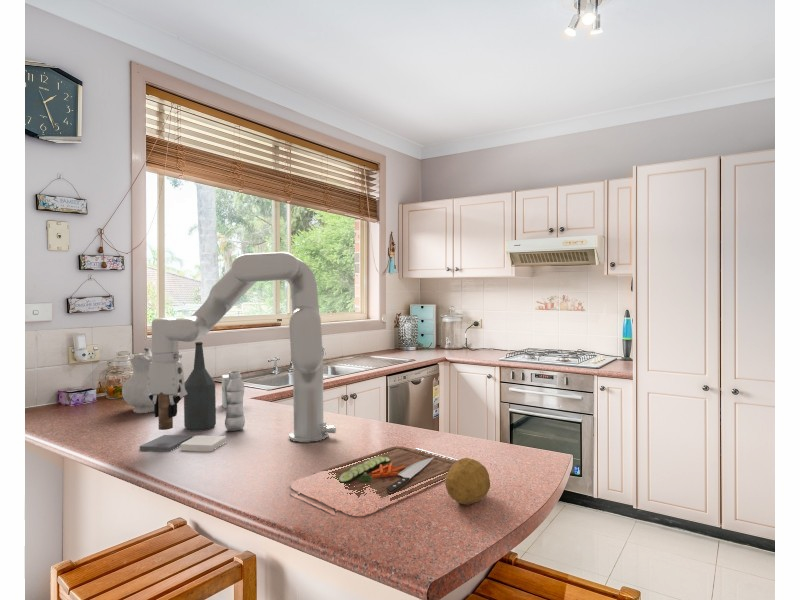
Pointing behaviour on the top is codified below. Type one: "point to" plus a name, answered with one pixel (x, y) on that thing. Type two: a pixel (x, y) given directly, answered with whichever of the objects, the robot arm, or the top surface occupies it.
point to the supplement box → (224, 381)
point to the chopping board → (393, 471)
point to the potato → (467, 481)
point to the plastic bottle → (234, 402)
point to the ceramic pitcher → (139, 383)
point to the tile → (203, 443)
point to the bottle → (199, 396)
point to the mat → (165, 443)
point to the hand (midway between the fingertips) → (165, 415)
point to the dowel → (164, 412)
